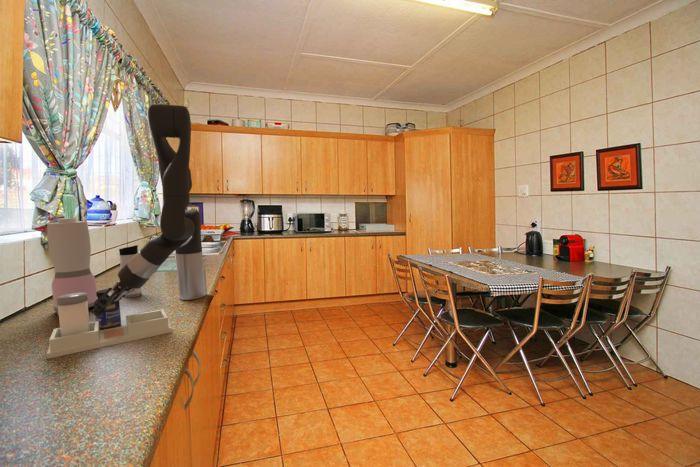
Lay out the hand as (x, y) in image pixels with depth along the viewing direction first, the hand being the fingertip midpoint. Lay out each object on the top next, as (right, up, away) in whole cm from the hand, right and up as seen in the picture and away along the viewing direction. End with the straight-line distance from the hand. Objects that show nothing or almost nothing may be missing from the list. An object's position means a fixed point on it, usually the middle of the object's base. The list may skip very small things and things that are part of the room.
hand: (101, 310), depth 105 cm
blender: (-23, -4, +21) cm, 31 cm away
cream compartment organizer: (+9, -6, -8) cm, 14 cm away
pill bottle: (+2, -5, +1) cm, 6 cm away
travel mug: (-13, -2, +37) cm, 39 cm away
